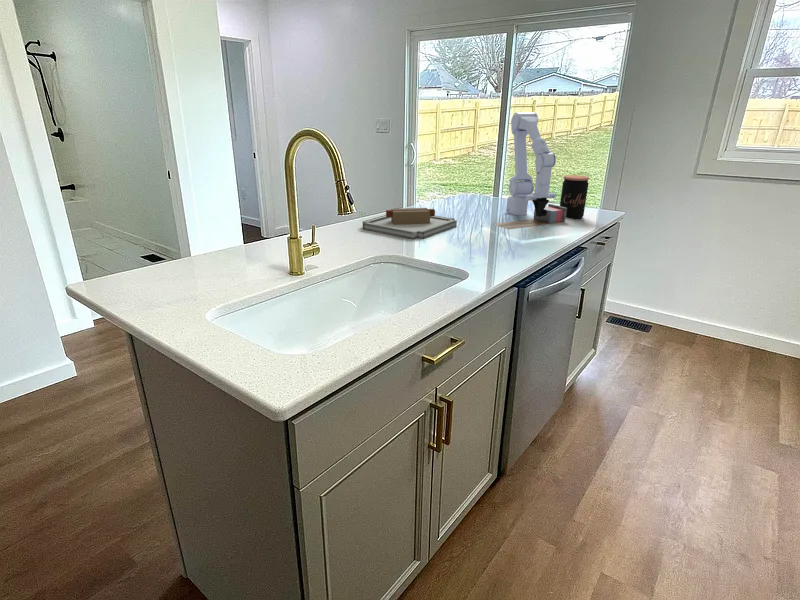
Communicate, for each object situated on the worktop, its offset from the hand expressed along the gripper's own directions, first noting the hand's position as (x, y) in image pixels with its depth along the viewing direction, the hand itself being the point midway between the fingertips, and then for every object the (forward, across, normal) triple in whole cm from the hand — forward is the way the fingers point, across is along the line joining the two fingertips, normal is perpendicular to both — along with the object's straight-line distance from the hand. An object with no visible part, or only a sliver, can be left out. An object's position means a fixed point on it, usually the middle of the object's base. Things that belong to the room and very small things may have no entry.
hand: (538, 216), depth 196 cm
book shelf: (+3, -4, 0) cm, 6 cm away
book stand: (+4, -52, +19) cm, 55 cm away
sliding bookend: (+2, +2, 0) cm, 3 cm away
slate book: (+2, +4, 0) cm, 5 cm away
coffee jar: (+4, +22, +4) cm, 23 cm away
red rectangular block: (+2, +8, 0) cm, 8 cm away
